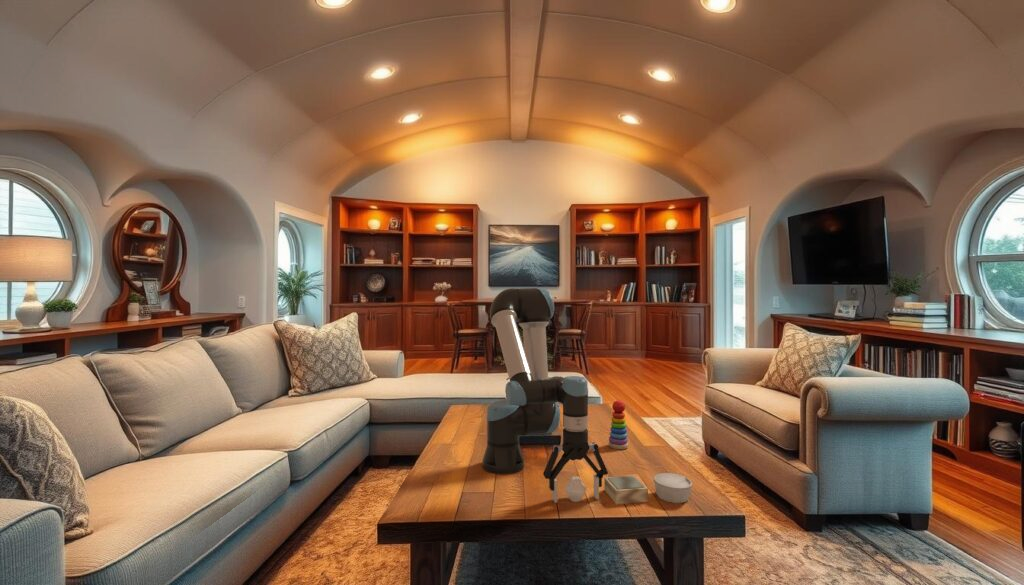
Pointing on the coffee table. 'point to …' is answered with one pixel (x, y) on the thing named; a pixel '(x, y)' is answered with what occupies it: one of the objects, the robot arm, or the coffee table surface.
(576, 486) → the small white vase
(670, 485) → the ramekin
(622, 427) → the stacking toy
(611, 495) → the base block
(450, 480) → the coffee table surface
